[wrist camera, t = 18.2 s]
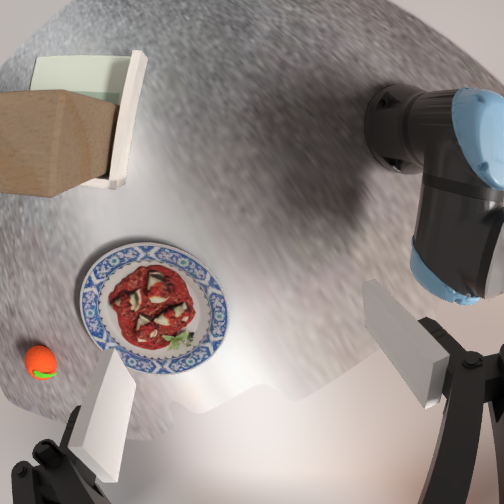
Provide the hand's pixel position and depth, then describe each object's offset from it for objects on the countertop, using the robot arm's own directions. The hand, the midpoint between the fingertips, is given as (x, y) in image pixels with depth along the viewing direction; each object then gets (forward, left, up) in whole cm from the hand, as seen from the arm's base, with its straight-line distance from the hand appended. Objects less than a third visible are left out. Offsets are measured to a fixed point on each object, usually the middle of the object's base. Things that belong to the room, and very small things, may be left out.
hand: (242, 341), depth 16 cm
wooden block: (+17, -16, -34) cm, 41 cm away
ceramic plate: (+16, +15, -35) cm, 41 cm away
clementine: (+42, +19, -35) cm, 58 cm away
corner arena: (+18, -20, -35) cm, 44 cm away
